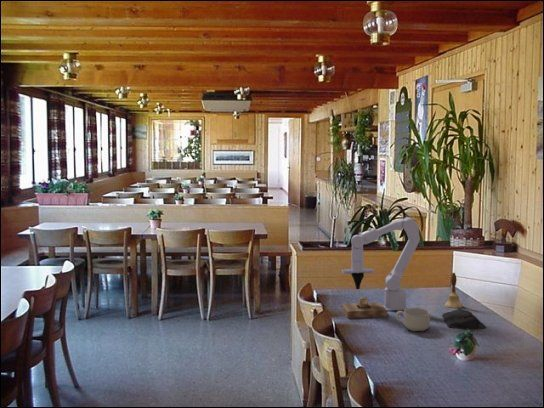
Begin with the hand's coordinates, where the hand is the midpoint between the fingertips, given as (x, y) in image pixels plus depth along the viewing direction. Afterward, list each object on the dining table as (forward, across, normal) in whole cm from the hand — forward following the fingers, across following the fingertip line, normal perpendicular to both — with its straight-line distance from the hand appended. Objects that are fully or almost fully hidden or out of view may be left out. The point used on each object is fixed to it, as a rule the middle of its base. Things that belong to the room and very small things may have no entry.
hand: (357, 288), depth 283 cm
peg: (+9, -1, +9) cm, 13 cm away
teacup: (+10, -16, +36) cm, 41 cm away
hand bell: (+10, -46, +2) cm, 47 cm away
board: (+9, -1, +9) cm, 13 cm away
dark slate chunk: (+10, -40, +28) cm, 50 cm away
